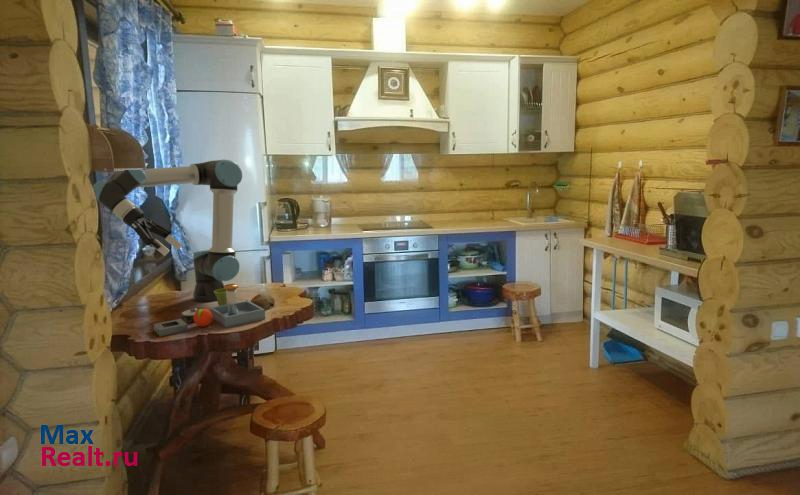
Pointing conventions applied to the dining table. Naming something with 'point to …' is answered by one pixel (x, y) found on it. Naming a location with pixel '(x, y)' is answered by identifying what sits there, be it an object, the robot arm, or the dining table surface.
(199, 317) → the red tomato
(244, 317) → the tray
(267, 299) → the bread roll
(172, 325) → the tensioner
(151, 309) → the dining table surface
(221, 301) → the plant pot
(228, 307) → the lock pin
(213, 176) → the robot arm
